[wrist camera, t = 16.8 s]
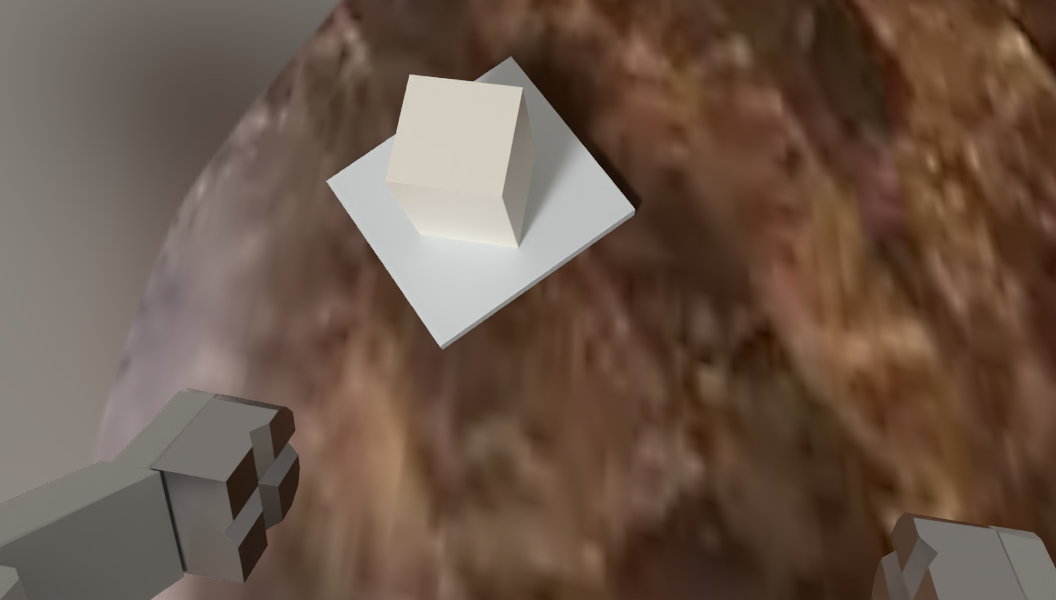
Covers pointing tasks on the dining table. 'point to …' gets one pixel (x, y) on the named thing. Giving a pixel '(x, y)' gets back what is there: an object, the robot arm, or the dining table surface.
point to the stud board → (477, 268)
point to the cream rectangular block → (463, 160)
